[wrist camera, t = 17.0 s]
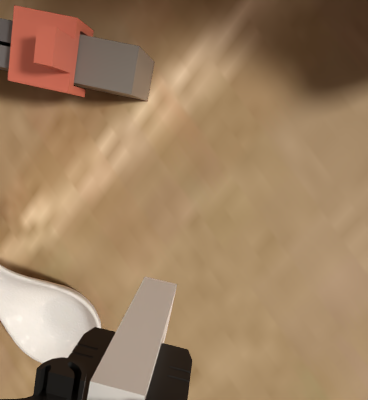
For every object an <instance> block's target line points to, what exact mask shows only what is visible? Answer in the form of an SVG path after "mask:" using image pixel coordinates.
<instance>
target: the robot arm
mask: <svg viewBox="0 0 368 400" xmlns="http://www.w3.org/2000/svg"><path fill="white" fill-rule="evenodd" d="M176 287H177V284H174V283H170V282H166V281H162V280H158V279H154V278H149V277H144V279H143V281H142V283H141V285H140V287H139V289H138V291H137V293H136V295H135V296H134V298H133V300H132V302H131V304H130V306H129V308H128V310H127V312H126V314H125V316H124V317H123V319H122V321H121V323H120V325H119V327H118V329H117V331H116V332H113V331H109V330H105V329H101V328H98V327H94V328H92V329H91V330H89V331H87V332H86V333H84V334H83V336H82V337H81V339H80V340H79V342H78V344H77V345H76V346H75V348H74V349H73V351H72V353H71V354H70V355H69V357H68V358H65V357H60V358H54V359H51V360H48V361H46V362H44V363H43V364H41V365H40V366H39V367H38V368H37V371H36V379H35V387H34V395H33V396H31V397H27V398H22V399H0V400H187V398H188V390H189V382H190V373H191V366H192V359H191V356H190V354H189V351H188V350H187V349H184V348H180V347H176V346H172V345H168V344H164V340H165V337H166V332H167V328H168V323H169V319H170V314H171V310H172V305H173V301H174V296H175V292H176Z"/></svg>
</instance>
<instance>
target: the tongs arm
mask: <svg viewBox="0 0 368 400" xmlns="http://www.w3.org/2000/svg"><path fill="white" fill-rule="evenodd" d="M9 59H10V47H8V46H3V45H0V69H1V70H6V71H8V70H9Z"/></svg>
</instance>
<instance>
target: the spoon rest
mask: <svg viewBox="0 0 368 400" xmlns="http://www.w3.org/2000/svg"><path fill="white" fill-rule="evenodd" d="M0 320H1V322H2V324H3V325H4V327H5V329H6V330H7V332H8V333H9V335H10V336H11V337H12V339H13V340H14V342H15V343H16V344H17V345H18V347H19V348H20V349H21V350H22V351H23V352H24V353H26V354H27V355H28V356H30V357H31V358H32V359H34V360H36V361H38V362H40V363H42V364H43V363H44V362H46V361H48V360H51V359H54V358H60V357H65V358H68V357H69V355H70V354H71V353H72V351H73V349H74V348H75V346H76V345H77V344H78V342H79V340H80V339H81V337H82V336H83V334H84V333H86V332H87V331H89V330H91V329H92V328H94V327H98V328H101V322H100V319H99V316H98V314H97V311H96V309H95V308H94V306H93V305H92V304H91V302H90V301H89V300H88V299H87V298H86V297H85V296H83V295H82V294H81V293H79V292H77V291H76V290H74V289H72V288H69V287H67V286H64V285H60V284H56V283H53V282H49V281H45V280H41V279H37V278H32V277H28V276H25V275H22V274H19V273H16V272H14V271H11V270H9V269H7V268H5V267H3V266H2V265H0Z"/></svg>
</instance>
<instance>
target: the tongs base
mask: <svg viewBox="0 0 368 400" xmlns="http://www.w3.org/2000/svg"><path fill="white" fill-rule="evenodd" d="M12 25H13V21H11V20H6V19H1V18H0V45H3V46H8V47H11V36H12ZM153 67H154V61H153V60H152V59H151V58H150V57H149V56H148V55H147V54H146V53H145V52H144V51H143V49H142V48H141V47H140V46H136V45H131V44H126V43H121V42H116V41H111V40H106V39H101V38H96V37H91V36H86V35H81V34H80V38H79V46H78V54H77V62H76V69H75V77H74V85H76V86H79V87H83V88H87V89H92V90H97V91H102V92H106V93H111V94H116V95H121V96H125V97H130V98H135V99H139V100H144V101H148V96H149V90H150V84H151V79H152V73H153Z"/></svg>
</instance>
